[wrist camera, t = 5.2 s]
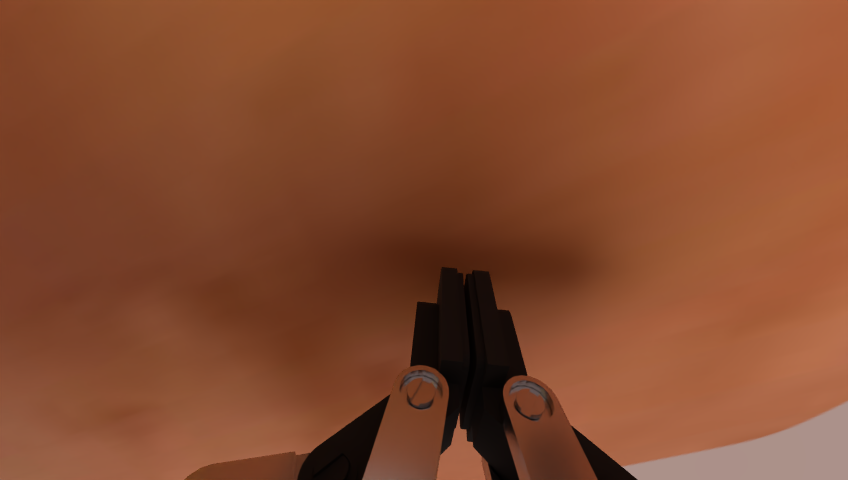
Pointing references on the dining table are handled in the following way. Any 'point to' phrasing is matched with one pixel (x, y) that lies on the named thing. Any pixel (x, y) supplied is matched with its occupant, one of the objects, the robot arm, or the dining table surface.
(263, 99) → the dining table surface
